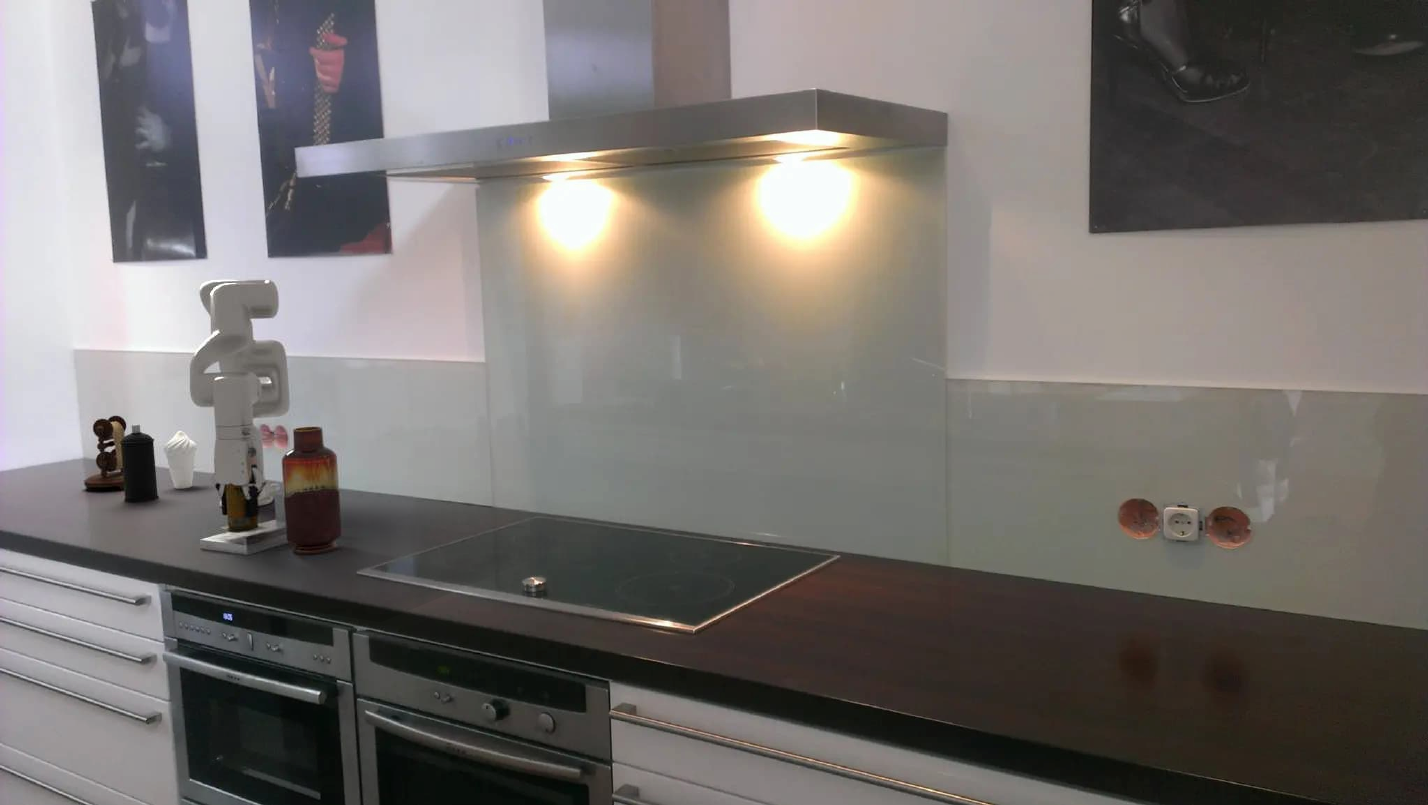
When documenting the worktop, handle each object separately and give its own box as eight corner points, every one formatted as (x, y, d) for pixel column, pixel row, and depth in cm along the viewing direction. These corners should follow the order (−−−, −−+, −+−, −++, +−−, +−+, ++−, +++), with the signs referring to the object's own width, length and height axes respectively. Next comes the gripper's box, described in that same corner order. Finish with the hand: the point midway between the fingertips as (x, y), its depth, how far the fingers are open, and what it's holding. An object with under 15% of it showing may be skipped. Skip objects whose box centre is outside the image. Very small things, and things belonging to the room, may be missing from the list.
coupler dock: (280, 526, 255) (278, 493, 254) (325, 531, 249) (323, 497, 248) (200, 548, 235) (197, 512, 234) (247, 554, 229) (244, 517, 228)
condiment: (254, 522, 242) (251, 469, 240) (268, 529, 235) (264, 474, 234) (220, 528, 237) (216, 473, 236) (232, 534, 231) (229, 478, 229)
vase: (275, 553, 230) (267, 431, 227) (312, 541, 240) (305, 424, 237) (317, 557, 226) (309, 433, 223) (353, 545, 236) (346, 425, 233)
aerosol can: (165, 498, 291) (159, 423, 289) (135, 503, 284) (129, 427, 282) (147, 495, 296) (142, 422, 293) (117, 500, 289) (111, 425, 287)
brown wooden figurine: (126, 492, 301) (120, 420, 298) (73, 492, 301) (67, 421, 298) (154, 481, 315) (149, 413, 313) (103, 482, 315) (97, 414, 313)
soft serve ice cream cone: (190, 490, 302) (186, 432, 300) (160, 490, 302) (156, 433, 300) (204, 484, 310) (200, 428, 308) (175, 484, 310) (171, 428, 309)
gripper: (278, 432, 234) (283, 514, 236) (220, 428, 241) (226, 508, 243) (249, 437, 227) (255, 522, 229) (191, 433, 234) (197, 515, 236)
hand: (240, 514), depth 236 cm, fingers closed on condiment, 6 cm apart
